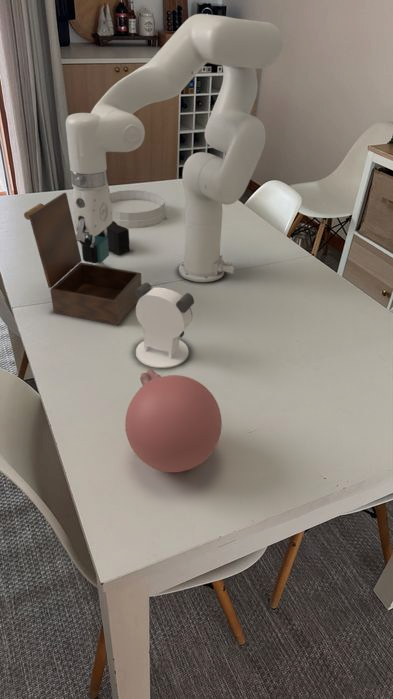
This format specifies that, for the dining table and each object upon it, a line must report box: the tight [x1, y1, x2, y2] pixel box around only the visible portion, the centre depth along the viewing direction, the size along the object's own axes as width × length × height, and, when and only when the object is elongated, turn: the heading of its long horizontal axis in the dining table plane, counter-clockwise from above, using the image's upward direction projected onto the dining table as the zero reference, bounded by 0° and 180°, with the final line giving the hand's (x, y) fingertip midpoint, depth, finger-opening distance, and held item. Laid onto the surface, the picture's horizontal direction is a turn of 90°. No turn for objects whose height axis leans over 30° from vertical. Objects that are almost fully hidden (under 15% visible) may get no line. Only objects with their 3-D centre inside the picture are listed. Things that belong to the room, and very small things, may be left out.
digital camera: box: [107, 221, 131, 256], centre depth 150 cm, size 10×5×7 cm, turn 50°
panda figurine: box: [135, 282, 195, 369], centre depth 105 cm, size 12×11×15 cm
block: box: [81, 236, 110, 263], centre depth 117 cm, size 4×4×4 cm
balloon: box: [124, 368, 223, 473], centre depth 83 cm, size 15×20×15 cm
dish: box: [110, 189, 166, 229], centre depth 172 cm, size 22×22×5 cm
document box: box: [49, 262, 143, 326], centre depth 124 cm, size 17×15×6 cm
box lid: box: [23, 192, 83, 289], centre depth 119 cm, size 17×15×5 cm
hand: (96, 256), depth 118 cm, fingers closed on block, 4 cm apart
